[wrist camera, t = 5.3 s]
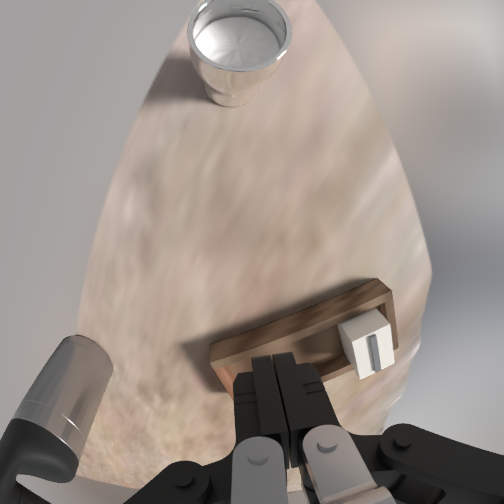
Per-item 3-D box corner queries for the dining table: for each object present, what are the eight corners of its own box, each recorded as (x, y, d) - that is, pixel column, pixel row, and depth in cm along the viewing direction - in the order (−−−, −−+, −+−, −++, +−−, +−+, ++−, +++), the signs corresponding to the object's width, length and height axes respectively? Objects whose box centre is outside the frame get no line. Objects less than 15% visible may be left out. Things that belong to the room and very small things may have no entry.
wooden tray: (377, 278, 38) (391, 290, 34) (386, 333, 41) (398, 347, 37) (210, 344, 38) (209, 362, 35) (238, 392, 42) (240, 411, 38)
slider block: (368, 300, 37) (391, 325, 31) (375, 338, 39) (395, 364, 33) (334, 315, 37) (353, 343, 31) (344, 352, 39) (361, 381, 33)
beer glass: (196, 58, 27) (180, -6, 13) (259, 51, 28) (286, -14, 14) (203, 115, 30) (189, 82, 15) (267, 107, 30) (303, 72, 16)
